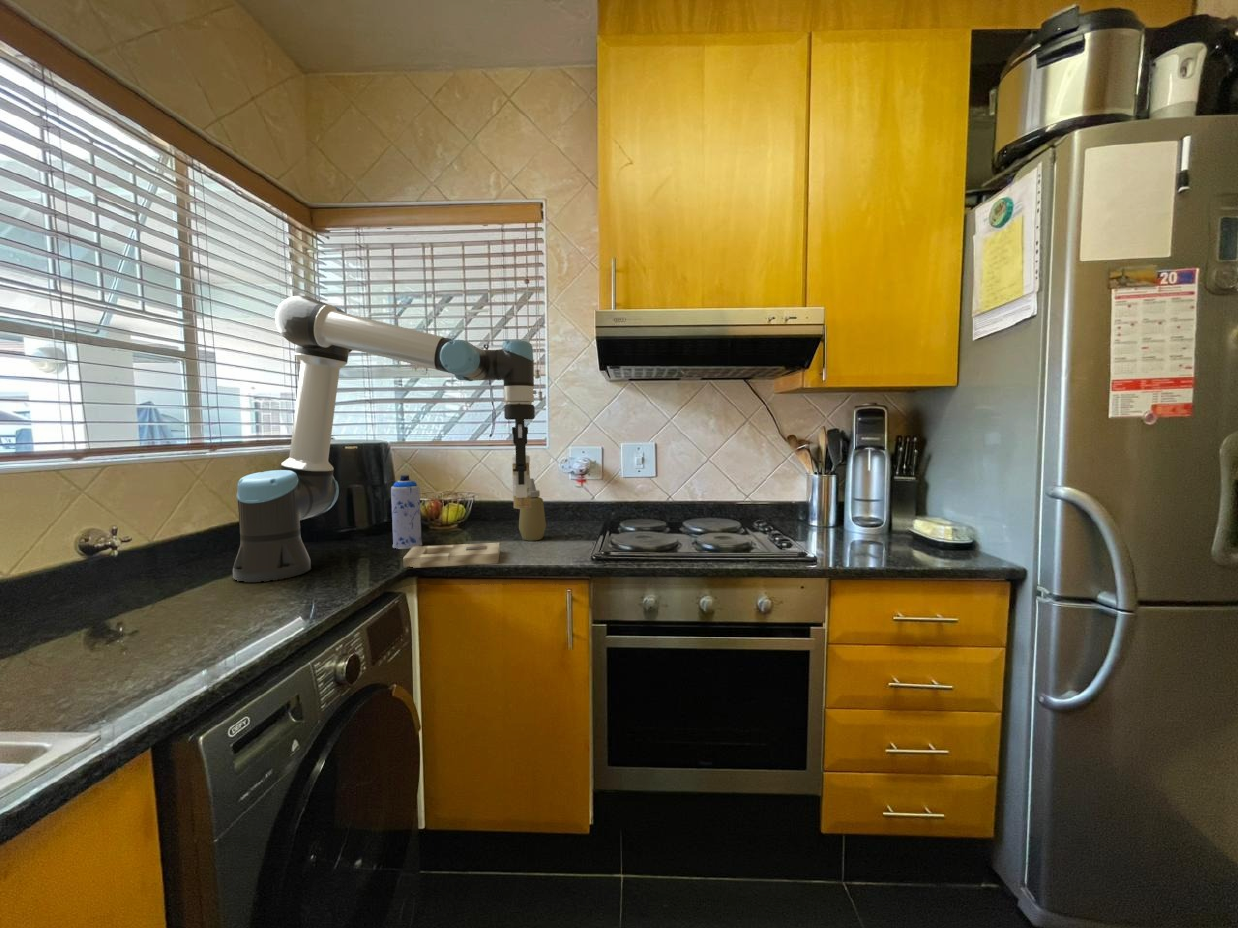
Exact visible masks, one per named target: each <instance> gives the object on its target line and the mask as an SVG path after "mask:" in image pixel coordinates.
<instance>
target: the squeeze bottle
mask: <svg viewBox="0 0 1238 928" xmlns="http://www.w3.org/2000/svg"><path fill="white" fill-rule="evenodd" d="M534 479H535V478H530V493H531V495H530V504H531V507H530V508H528V509H519V519H518V530H519V532H520V535H521V538H522V540H524V541H529V542H531V541H532V542H533V541H534V542H535V541H538V540H539V541H540V540H542V539H543V537H544V535H545V531H546V528H547V521H546V516H545V515H546V513H545V507H544V506H545V505H544V499H543V498H542V497H540V493H541V492H540V490H537V488H536V483H535V480H534Z"/></svg>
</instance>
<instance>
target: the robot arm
mask: <svg viewBox="0 0 1238 928" xmlns="http://www.w3.org/2000/svg"><path fill="white" fill-rule="evenodd" d="M274 314H275V315H274V319H275V320H274V322H275V325H276V328H277V330H278V332H279V333H280V335H281V336H282V337H283V338H284V339H285V340H287V341H288V342H289V343H291V344H293V345H295V348H294V355H295V357H296V358H297V359H298V360H299V361H300V366H299V375H298V384H297V391H296V401H295V407H294V408H295V409H294V415H293V416H294V417H293V423H292V431H291V441H290V449H289V457H288V458H286V459H285V460H284V461H282V462H281V463H280V469H277V470H276V469H274V470H266V471H263V472H261V471H259V472H255V473H251V474H247V475H245V476H242V477H241V478H240V479H239V480H238V482H237V489H236V490H237V492H236V495H235V496H236V500H237V509H238V522H239V523H238V525H239V534H240V536H239V537H240V538H239V539H240V541H239V542H240V545H239V548H238V552H237V555H236V557H235V561H234V563H233V564H234V565H233V567H232V578H234V579H235V580H237V581H236V582H239V581H244V582H243V583H261V581H264V582H271V581H270V580H273V581H278V579H279V580H284V578H285V579H290V578H292V577H296V576H299V575H302V574H305V573H307V572H308V571H310V570H312V567H311V564H312V563H311V557H310V556H309V553H308V551H307V549H306V546H305V544H304V542H303V540H302V537H301V522H300V521H302V520H306V519H309V518H314V517H318V516H320V515H322V514H323V513H326V512H328V511H329V510H331V508H332V507H334V505H335V503H336V502H337V500H338V498H339V494H340V493H339V492H340V489H339V484H338V481H337V480H336V479H335V477H334V466H333V465H332V464H331V463H330V462H329V458H330V456H329V455H330V448H331V439H332V433H333V432H332V431H333V424H334V417H335V408H336V400H337V394H338V392H337V391H338V385H339V377H340V370H341V369H342V368H343V367H345V366H346V365H347V364H348V360H349V354H350V353H351V352H352V351H353V350H354V351H357V352H362V353H365V354H370V355H374V356H378V357H381V358H382V357H383V358H385V359H386V358H387V359H389V360H395V361H398V362H403V363H407V364H412V365H416V366H420V367H425V368H428V369H432V370H438V371H441V372H444V373H448V374H452V375H454V377H455V378H456V379H457V380H458V381H465V382H466V381H467V382H473V381H503V403H505V405H504V407H503V410H504V411H503V412H504V413H503V415H504V420H509V421H510V420H511V421H513V420H514V421H515V422H514V424H515V426H512V427H511V433H512V437H513V438H512V440H513V445H514V446H515V447H514V448H515V455H516V466H515V469H513V468H512V469H513V470H512V473H513V472H516V498H524V497H527V471H526V470H527V466H526V455H527V453H526V448H527V447H526V446H527V444H528V434H529V427H528V426H526V425H525V420H534V419H535V417H536V415H535V414H536V413H535V409H536V408H535V404H532V403H534V402H535V395H536V394H538V393H537V390H534V389H535V388H534V386H535V378H534V377H535V374H534V373H535V372H534V371H535V369H534V368H535V367H534V366H535V365H534V363H535V359H534V351H533V345H532V343H531V342H529V341H527V340H516V339H513V340H505V341H503V342H502V347H501V349H481V348H478V347H477V346H475V345H473V344H471V342H469V341H466V340H463V339H453V338H449V337H444V336H441V335H436V334H432V333H429V332H428V333H427V332H425V331H420V330H417V329H412V328H407V327H403V326H400V325H395V324H391V323H388V322H387V323H386V322H383V321H379V320H375V319H372V318H367V317H362V316H358V315H354V314H350V313H347V312H346V311H344V310H342V308H340V307H337V306H334V305H333V304H329V303H326V302H323V301H321V300H318V299H316V298H313V297H310V296H308V295H307V296H305V295H294V296H293V295H292V296H289V297H287V298H286V299H284V300H283V301H282V302H280V303H279V304H278V306H277V308H276V310H275V313H274ZM234 579H233V580H234ZM235 580H234V581H235Z"/></svg>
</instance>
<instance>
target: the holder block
mask: <svg viewBox="0 0 1238 928" xmlns="http://www.w3.org/2000/svg"><path fill="white" fill-rule="evenodd" d="M500 545H501V542H482V543H463V544H460V543H459V544H441V545H421V546H417V547H412V548H410V549H409V551H407V553H406V554H405V555H404V556H403V559H402V561H403V562H402V563H403V566H410V567H413V568H412V569H416V568H421V569H422V568H436V567H437V568H439V567H453V566H456V567H457V566H473V565H474V566H475V565H490V564H491V565H494V564H498V563H499V559H500V553H501V552H500V551H501V547H500Z"/></svg>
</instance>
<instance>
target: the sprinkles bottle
mask: <svg viewBox="0 0 1238 928" xmlns="http://www.w3.org/2000/svg"><path fill="white" fill-rule="evenodd" d="M530 458H531V457H530V455H527V454H526V466H527V470H526V471H527V497H524V498H516V472H513V469H515V466H516V454H515V455H511V460H510V461H511V466H512V468H511V469H512V498H513V499H512V500H513V509H516V510H517V509H518V510H520V509H528V508H530V507H531V504H530V495H531V493H530V479H531V474H530V463H531V462H530V461H531V459H530Z"/></svg>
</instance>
